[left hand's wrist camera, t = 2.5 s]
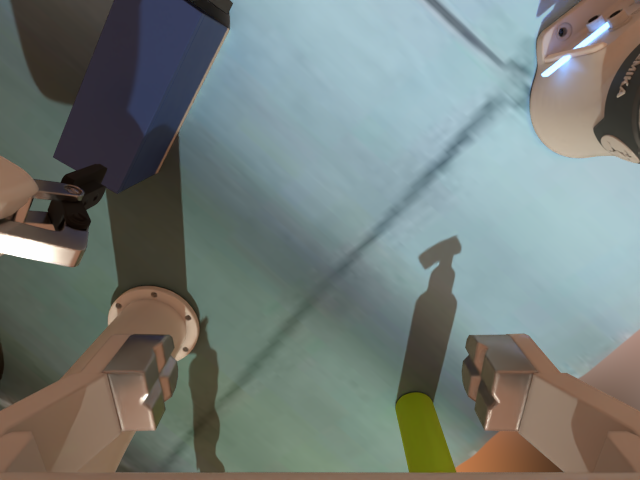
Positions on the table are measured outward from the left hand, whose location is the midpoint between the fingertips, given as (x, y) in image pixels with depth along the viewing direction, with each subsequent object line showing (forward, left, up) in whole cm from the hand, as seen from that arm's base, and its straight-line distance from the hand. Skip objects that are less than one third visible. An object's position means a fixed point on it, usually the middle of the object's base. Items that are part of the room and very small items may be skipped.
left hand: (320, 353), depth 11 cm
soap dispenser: (+22, +36, -38) cm, 57 cm away
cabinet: (+6, -18, -38) cm, 42 cm away
